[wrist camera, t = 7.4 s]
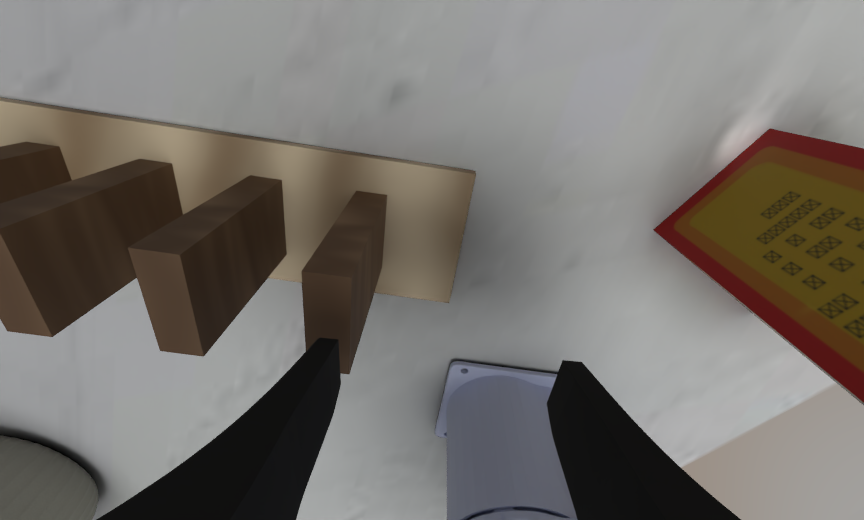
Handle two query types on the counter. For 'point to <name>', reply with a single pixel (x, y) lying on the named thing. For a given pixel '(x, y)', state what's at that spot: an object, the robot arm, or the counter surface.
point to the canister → (43, 484)
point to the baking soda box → (788, 244)
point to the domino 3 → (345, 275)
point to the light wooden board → (301, 183)
